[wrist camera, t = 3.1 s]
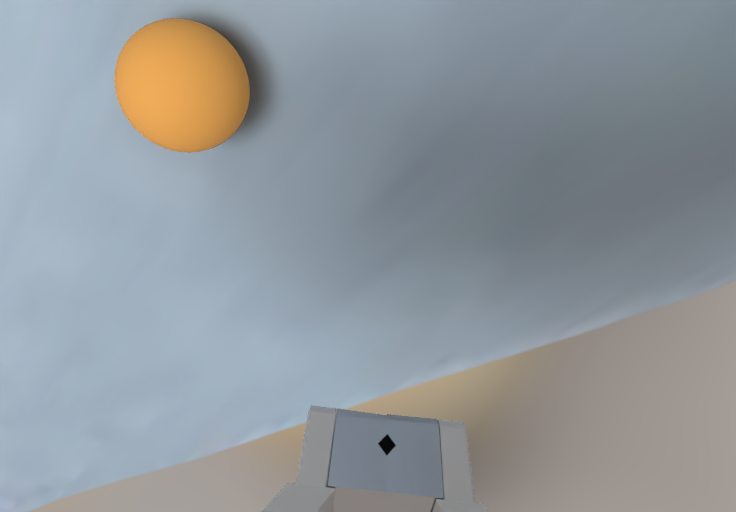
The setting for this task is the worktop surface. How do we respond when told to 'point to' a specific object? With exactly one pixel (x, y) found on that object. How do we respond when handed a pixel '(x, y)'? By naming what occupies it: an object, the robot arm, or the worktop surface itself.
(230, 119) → the ball
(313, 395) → the worktop surface
